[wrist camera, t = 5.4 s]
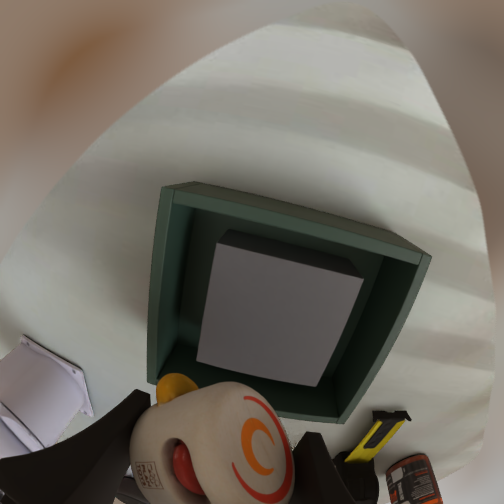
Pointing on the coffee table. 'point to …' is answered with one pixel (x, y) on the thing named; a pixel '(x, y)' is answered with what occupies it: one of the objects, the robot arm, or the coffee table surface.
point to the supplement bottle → (413, 482)
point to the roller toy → (211, 446)
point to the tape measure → (368, 457)
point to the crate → (292, 232)
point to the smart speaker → (130, 492)
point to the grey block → (275, 308)
